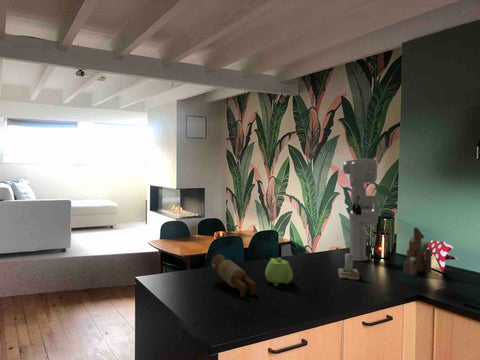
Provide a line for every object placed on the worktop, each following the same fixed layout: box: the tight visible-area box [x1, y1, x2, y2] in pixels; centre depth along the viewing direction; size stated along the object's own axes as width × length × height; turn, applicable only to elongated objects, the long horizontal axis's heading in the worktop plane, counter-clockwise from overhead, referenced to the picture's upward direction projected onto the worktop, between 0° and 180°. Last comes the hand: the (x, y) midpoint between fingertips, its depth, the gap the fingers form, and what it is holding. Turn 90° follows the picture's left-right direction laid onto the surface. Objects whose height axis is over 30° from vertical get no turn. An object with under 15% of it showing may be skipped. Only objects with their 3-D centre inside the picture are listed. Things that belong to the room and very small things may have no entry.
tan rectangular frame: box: [337, 267, 360, 280], centre depth 213 cm, size 10×10×3 cm
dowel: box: [344, 252, 354, 272], centre depth 213 cm, size 4×4×12 cm
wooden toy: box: [402, 227, 432, 276], centre depth 222 cm, size 16×7×25 cm, turn 117°
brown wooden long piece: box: [210, 254, 257, 298], centre depth 192 cm, size 10×12×30 cm
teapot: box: [264, 257, 294, 287], centre depth 201 cm, size 20×13×13 cm
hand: (356, 213), depth 225 cm, fingers open, 9 cm apart
